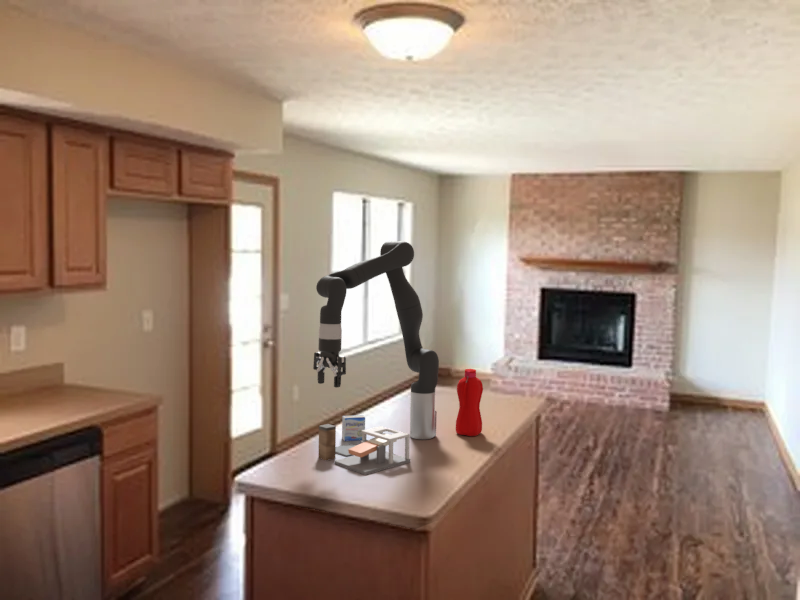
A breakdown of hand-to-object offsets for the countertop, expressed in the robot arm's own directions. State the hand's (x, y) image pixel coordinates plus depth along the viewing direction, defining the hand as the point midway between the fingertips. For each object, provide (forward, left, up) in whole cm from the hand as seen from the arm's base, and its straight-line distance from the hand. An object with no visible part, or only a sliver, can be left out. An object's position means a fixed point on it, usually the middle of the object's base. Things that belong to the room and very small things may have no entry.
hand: (328, 385), depth 238 cm
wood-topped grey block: (0, 0, -25) cm, 25 cm away
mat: (-11, -2, -25) cm, 27 cm away
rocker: (-8, +14, -19) cm, 24 cm away
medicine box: (-22, -12, -25) cm, 35 cm away
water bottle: (-60, +11, -25) cm, 65 cm away
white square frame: (-8, +14, -25) cm, 29 cm away
